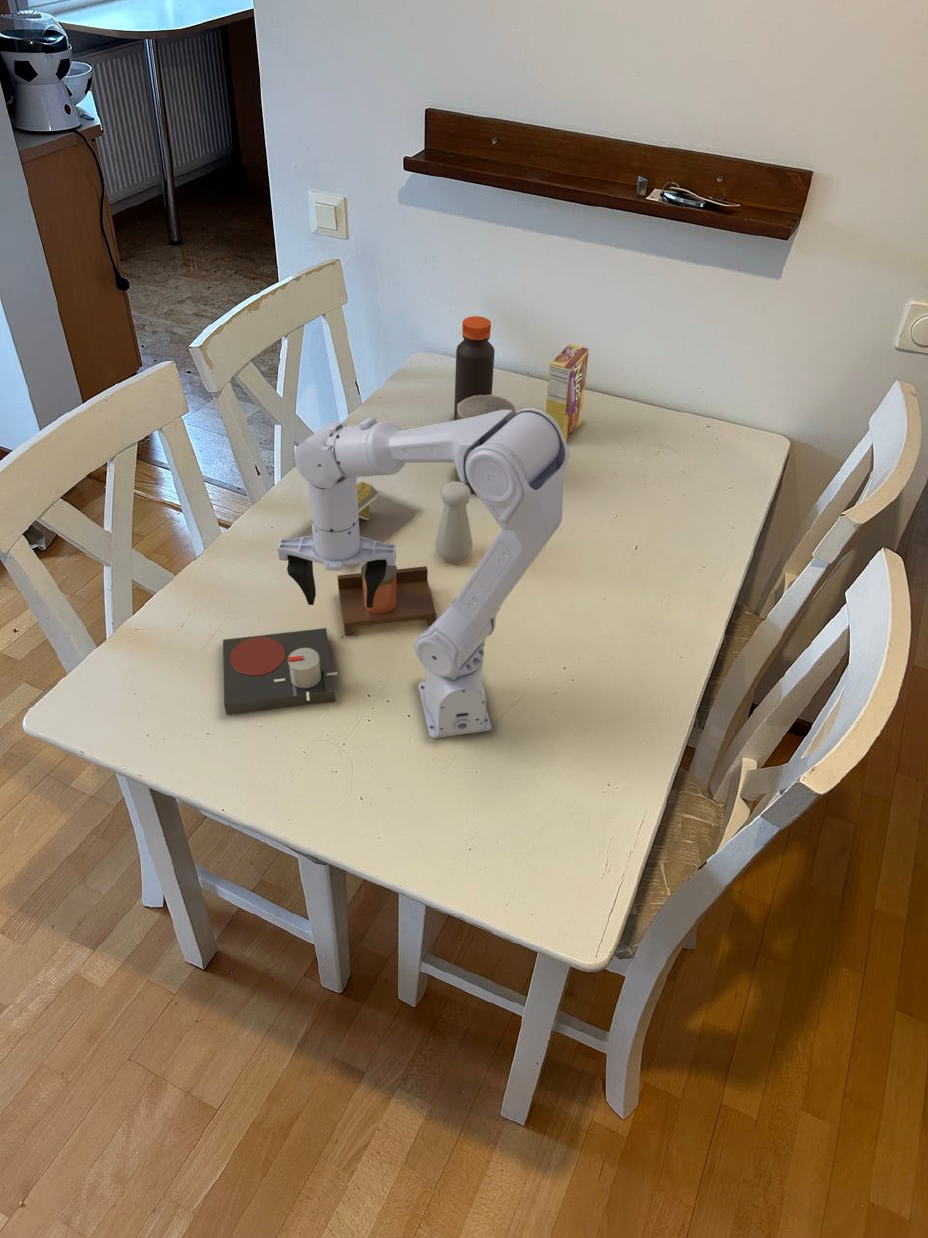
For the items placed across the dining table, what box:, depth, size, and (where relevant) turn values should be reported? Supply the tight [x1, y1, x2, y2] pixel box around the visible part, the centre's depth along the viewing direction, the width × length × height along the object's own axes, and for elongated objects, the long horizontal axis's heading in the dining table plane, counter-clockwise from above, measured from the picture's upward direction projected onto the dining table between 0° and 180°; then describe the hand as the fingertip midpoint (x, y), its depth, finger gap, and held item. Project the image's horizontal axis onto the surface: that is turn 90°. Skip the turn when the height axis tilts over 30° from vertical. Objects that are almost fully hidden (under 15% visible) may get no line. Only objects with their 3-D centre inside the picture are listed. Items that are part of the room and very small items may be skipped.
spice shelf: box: [336, 565, 437, 636], centre depth 131 cm, size 8×13×4 cm, turn 102°
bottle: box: [453, 315, 495, 421], centre depth 164 cm, size 7×7×20 cm
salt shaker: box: [434, 481, 474, 565], centre depth 138 cm, size 6×6×13 cm
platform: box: [296, 481, 419, 570], centre depth 145 cm, size 12×18×7 cm, turn 149°
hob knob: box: [288, 648, 321, 688], centre depth 118 cm, size 4×4×4 cm
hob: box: [222, 627, 338, 716], centre depth 121 cm, size 13×15×2 cm
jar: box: [360, 562, 398, 613], centre depth 128 cm, size 5×5×6 cm
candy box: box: [545, 343, 590, 441], centre depth 165 cm, size 9×4×15 cm, turn 152°
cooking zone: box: [230, 637, 285, 676], centre depth 122 cm, size 7×7×1 cm
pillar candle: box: [454, 394, 516, 495], centre depth 153 cm, size 10×10×15 cm
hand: (341, 601), depth 120 cm, fingers open, 7 cm apart
